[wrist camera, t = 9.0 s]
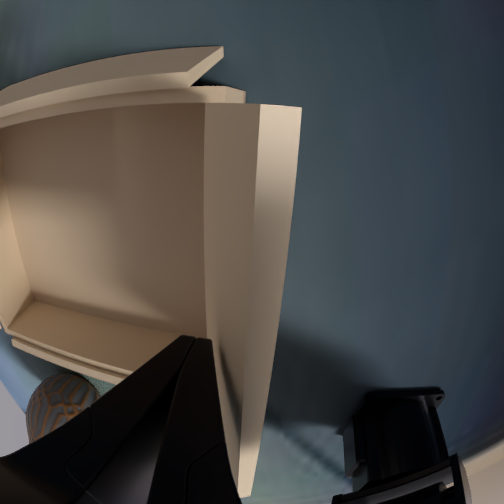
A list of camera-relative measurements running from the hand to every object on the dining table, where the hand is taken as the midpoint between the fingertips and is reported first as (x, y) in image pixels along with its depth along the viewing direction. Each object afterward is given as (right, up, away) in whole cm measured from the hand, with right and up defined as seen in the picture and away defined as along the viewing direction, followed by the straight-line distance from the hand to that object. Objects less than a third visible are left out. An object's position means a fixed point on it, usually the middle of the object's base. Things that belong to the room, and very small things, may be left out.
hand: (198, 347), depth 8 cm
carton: (-7, +4, +7) cm, 10 cm away
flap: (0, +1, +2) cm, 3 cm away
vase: (-14, -10, +15) cm, 23 cm away
